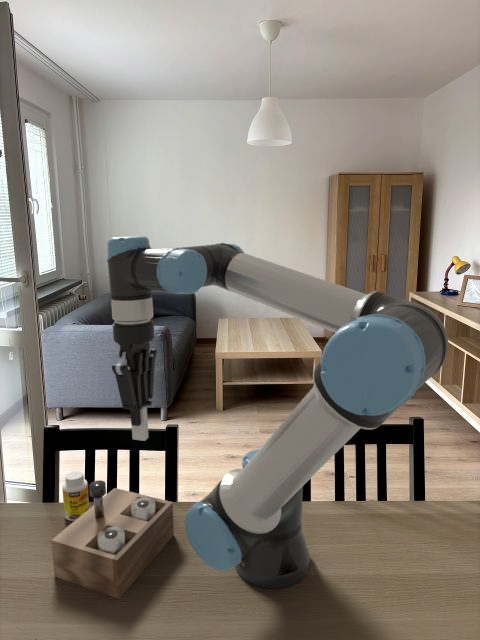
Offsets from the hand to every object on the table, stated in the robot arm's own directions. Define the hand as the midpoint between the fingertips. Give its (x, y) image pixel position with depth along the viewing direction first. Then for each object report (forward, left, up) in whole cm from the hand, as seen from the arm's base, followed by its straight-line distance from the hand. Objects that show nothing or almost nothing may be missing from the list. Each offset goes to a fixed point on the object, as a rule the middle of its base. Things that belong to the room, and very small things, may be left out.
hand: (140, 438), depth 99 cm
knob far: (+2, -3, -26) cm, 26 cm away
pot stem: (+9, +2, -18) cm, 20 cm away
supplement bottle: (+22, -6, -26) cm, 35 cm away
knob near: (+2, +8, -26) cm, 27 cm away
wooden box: (+5, +2, -26) cm, 26 cm away
